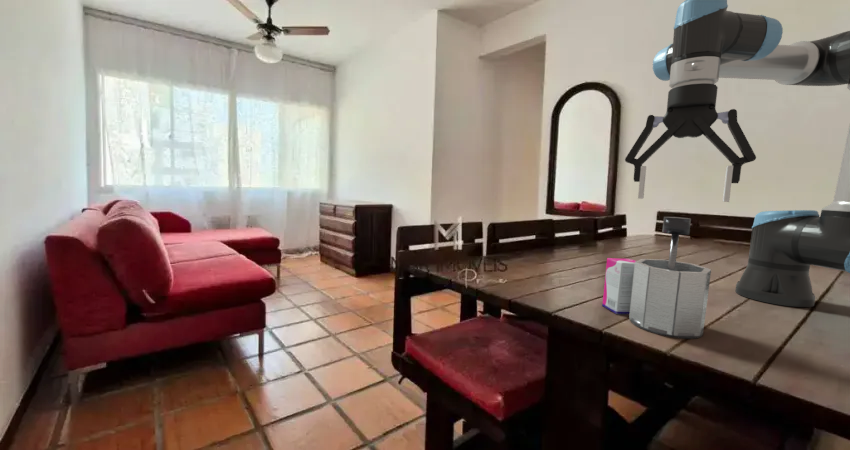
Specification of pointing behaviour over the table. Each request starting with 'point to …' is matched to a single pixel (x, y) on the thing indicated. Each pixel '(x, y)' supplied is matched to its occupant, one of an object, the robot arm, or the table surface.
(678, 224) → the plunger
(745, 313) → the table surface
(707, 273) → the press body
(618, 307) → the supplement box
